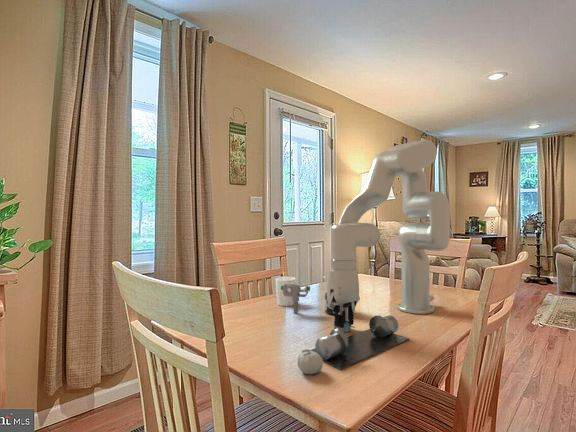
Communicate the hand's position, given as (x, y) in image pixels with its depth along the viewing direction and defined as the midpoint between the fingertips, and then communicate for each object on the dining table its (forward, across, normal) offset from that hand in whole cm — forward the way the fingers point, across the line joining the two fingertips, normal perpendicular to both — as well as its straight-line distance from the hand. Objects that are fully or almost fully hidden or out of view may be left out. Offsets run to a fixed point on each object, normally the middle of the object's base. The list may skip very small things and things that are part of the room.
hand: (344, 324), depth 104 cm
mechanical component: (+2, 0, -23) cm, 23 cm away
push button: (+2, 0, 0) cm, 2 cm away
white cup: (+2, -5, -35) cm, 35 cm away
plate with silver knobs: (+2, +6, +11) cm, 13 cm away
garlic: (+2, +26, +13) cm, 29 cm away
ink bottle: (+2, -12, -14) cm, 19 cm away
